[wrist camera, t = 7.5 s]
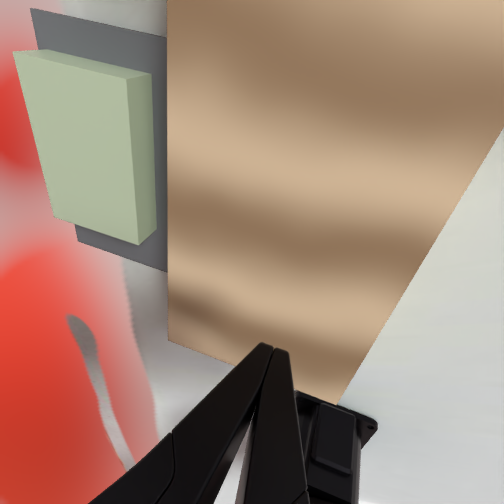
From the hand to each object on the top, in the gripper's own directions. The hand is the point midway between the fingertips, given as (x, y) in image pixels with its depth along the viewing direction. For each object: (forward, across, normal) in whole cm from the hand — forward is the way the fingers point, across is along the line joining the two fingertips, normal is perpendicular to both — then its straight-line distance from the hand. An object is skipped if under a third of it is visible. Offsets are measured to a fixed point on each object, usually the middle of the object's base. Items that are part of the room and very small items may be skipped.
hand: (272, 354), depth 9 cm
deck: (+10, +1, 0) cm, 10 cm away
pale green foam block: (+8, +13, 0) cm, 15 cm away
